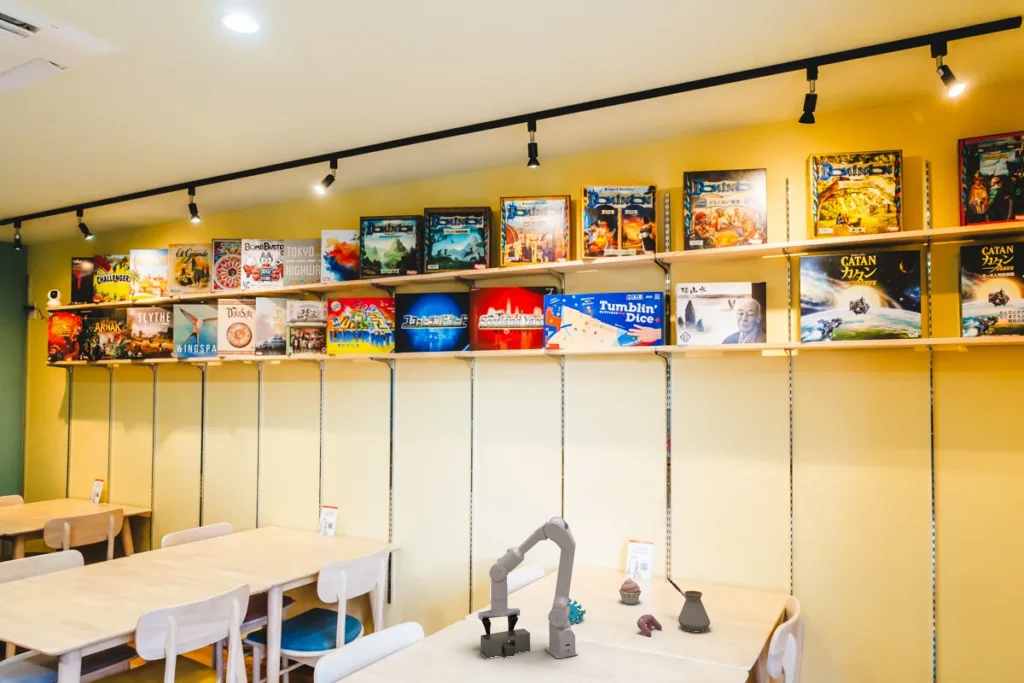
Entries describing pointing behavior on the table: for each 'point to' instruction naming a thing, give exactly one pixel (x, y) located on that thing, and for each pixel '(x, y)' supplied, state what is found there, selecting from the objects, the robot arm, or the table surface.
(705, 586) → the table surface
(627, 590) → the cupcake
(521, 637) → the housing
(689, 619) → the coffee pot
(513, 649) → the grey rectangular bar
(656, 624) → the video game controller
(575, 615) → the spiky virus model
